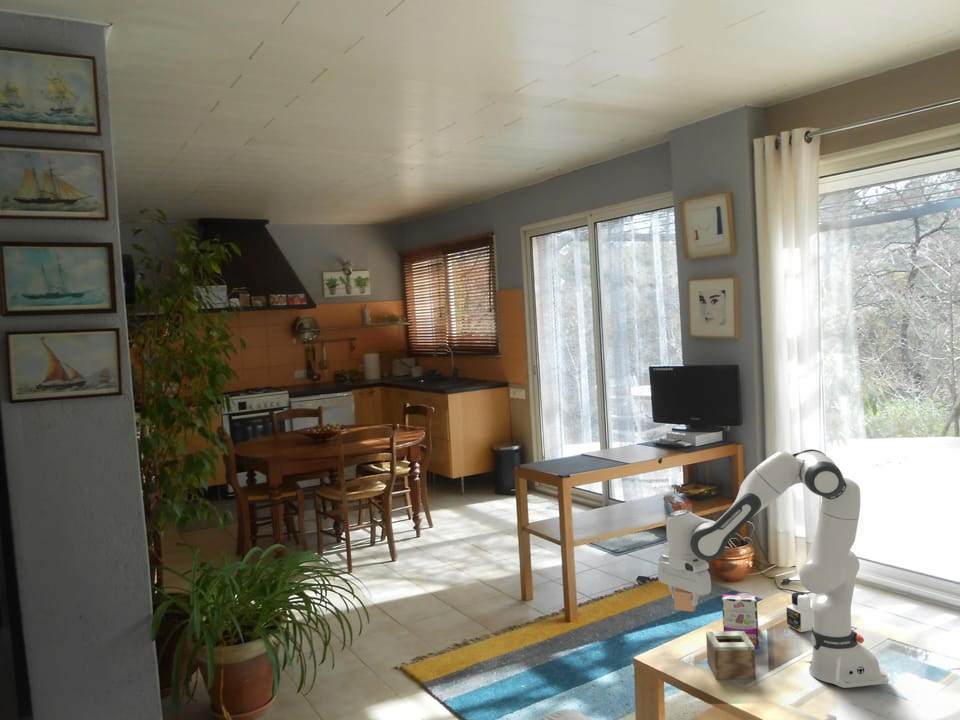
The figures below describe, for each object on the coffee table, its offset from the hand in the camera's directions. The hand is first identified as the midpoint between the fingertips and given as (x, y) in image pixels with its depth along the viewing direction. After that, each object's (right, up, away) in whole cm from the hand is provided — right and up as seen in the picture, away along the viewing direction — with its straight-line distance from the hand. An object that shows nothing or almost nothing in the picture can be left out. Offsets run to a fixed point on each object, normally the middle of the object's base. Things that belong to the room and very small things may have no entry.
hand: (684, 601), depth 244 cm
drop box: (+12, -19, -9) cm, 24 cm away
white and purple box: (+28, -17, +19) cm, 38 cm away
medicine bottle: (+47, -16, +20) cm, 54 cm away
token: (0, -2, 0) cm, 2 cm away
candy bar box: (+22, -18, +9) cm, 29 cm away
